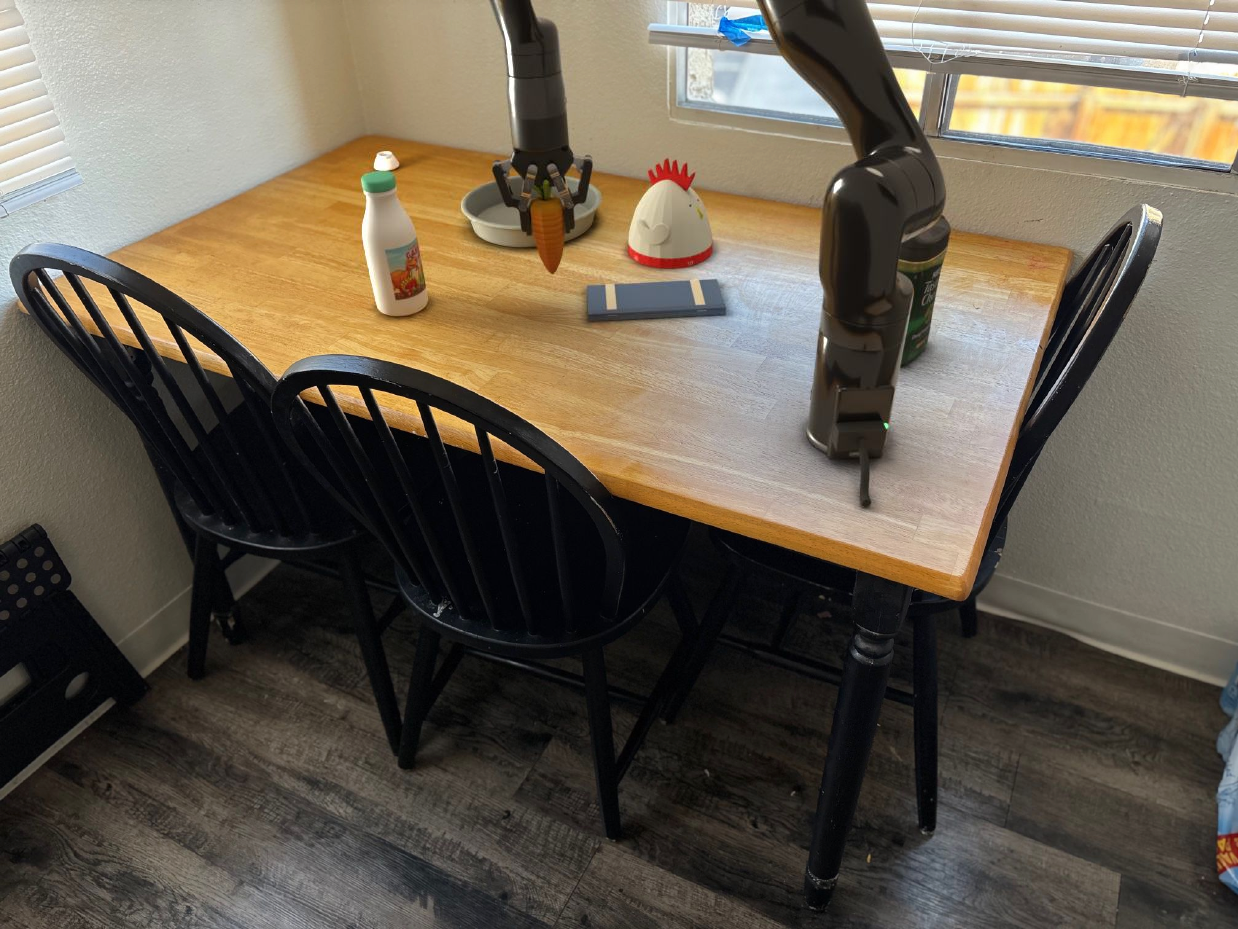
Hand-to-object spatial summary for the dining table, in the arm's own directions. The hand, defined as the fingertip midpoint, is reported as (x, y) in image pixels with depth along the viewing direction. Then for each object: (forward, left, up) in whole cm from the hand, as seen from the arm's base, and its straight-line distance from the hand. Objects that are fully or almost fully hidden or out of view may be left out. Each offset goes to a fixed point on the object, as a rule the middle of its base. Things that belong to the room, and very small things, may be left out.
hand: (548, 232), depth 127 cm
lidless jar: (+64, +35, -12) cm, 74 cm away
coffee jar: (-17, -46, -12) cm, 50 cm away
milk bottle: (+3, +23, -12) cm, 26 cm away
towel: (0, -15, -12) cm, 19 cm away
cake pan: (+32, +4, -12) cm, 35 cm away
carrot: (0, 0, -7) cm, 7 cm away
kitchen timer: (+18, -19, -12) cm, 29 cm away
